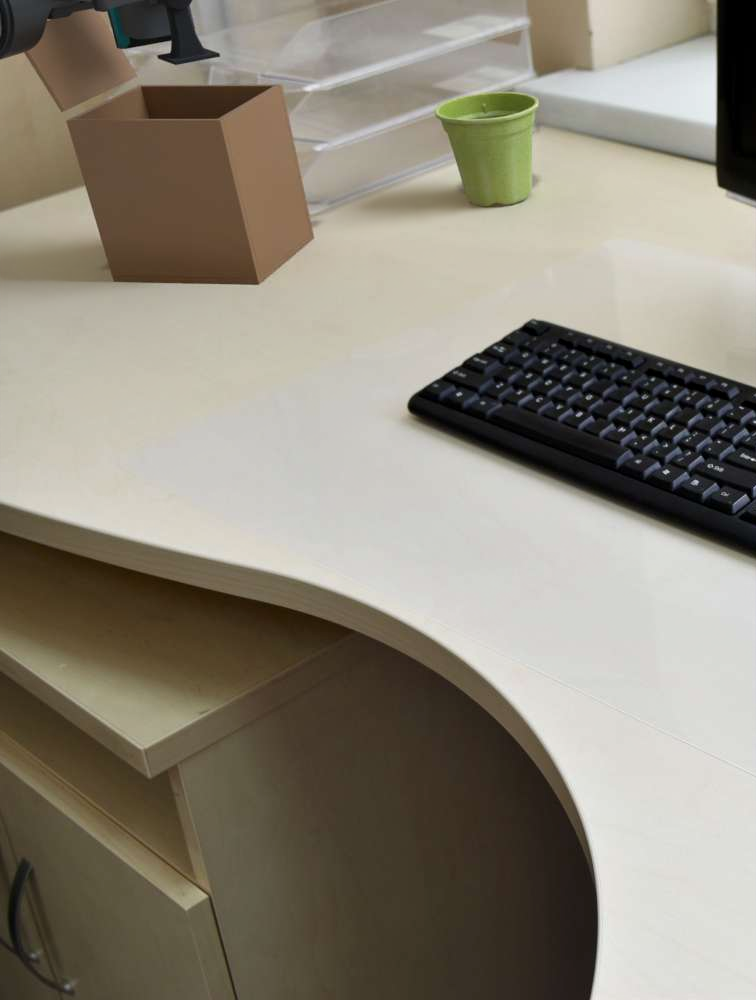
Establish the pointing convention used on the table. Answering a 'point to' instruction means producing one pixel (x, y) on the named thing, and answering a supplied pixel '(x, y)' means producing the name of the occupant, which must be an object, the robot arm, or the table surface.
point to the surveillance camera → (159, 29)
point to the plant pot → (492, 144)
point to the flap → (79, 59)
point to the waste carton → (193, 182)
